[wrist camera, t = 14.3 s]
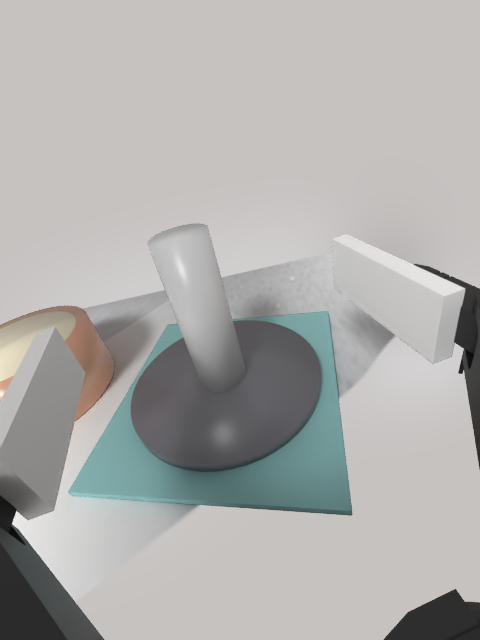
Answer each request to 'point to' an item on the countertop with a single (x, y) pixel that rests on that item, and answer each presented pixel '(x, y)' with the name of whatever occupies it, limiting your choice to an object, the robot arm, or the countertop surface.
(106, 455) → the mat
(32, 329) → the orange bowl
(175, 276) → the lid
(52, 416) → the robot arm
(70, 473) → the countertop surface
